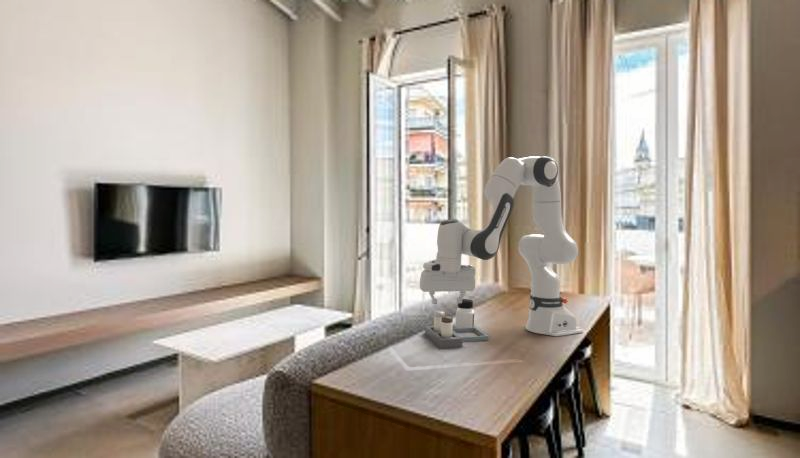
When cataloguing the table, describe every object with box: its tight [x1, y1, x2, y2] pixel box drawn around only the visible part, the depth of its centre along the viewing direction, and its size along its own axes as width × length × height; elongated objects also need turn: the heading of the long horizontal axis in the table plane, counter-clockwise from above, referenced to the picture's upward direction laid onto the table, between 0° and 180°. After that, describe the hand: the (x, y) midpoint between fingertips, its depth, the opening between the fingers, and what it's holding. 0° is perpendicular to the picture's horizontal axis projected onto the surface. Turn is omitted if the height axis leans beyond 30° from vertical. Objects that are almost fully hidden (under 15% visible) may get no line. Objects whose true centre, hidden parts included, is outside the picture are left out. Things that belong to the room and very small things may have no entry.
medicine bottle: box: [454, 297, 475, 328], centre depth 199 cm, size 7×7×12 cm
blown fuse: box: [441, 315, 454, 338], centre depth 175 cm, size 4×4×10 cm
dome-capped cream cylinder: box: [433, 310, 446, 331], centre depth 183 cm, size 4×4×10 cm
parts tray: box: [452, 326, 489, 343], centre depth 185 cm, size 11×12×2 cm
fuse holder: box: [420, 325, 467, 350], centre depth 179 cm, size 20×10×4 cm, turn 15°
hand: (446, 303), depth 174 cm, fingers open, 8 cm apart
